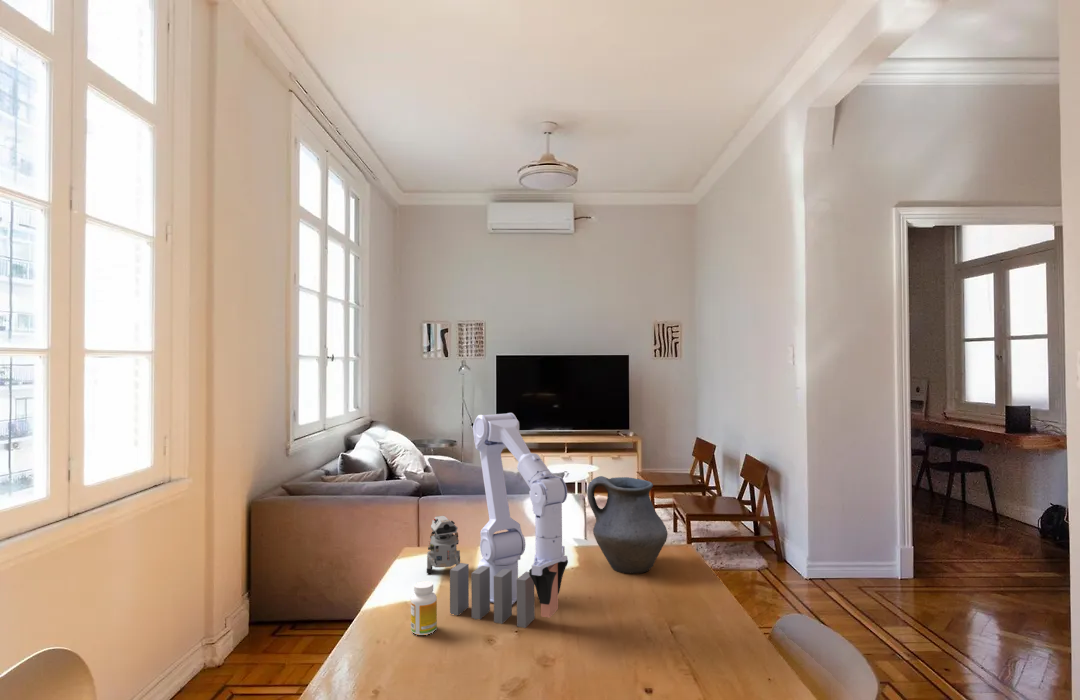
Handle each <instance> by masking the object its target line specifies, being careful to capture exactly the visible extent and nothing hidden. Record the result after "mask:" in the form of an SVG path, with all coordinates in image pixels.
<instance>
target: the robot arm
mask: <svg viewBox="0 0 1080 700" xmlns="http://www.w3.org/2000/svg"><path fill="white" fill-rule="evenodd" d="M472 432H473V439H474V445H475V450H477V451H479V457H480V464H481V470H482V478H483V485H484V491H485V498H486V505H487V512H488V518H489V520H488V521H487V523H485V525H484V526H483V527H482V528H481V530H480V531H479V532H480V543H479V551H480V554H481V556H482V559H480V561H479V563H478V566H477V569H478V568H479V567H481V566H487V567H490V603H493V604H494V575H496V574H497V573H499V572H500V571H501V570H503V569H510V570H512V605H514V604H515V603H517V579H518V578H519V561H520V560H521V559H522V557H521V556H522V555H523V554H524V553H525V549H526V539H525V535H524V534H523V532H522V528H521V523H519V522H518V521H517V520H515V519H514V518H512V517H511V513H510V506H509V499H508V493H507V487H506V486H507V485H506V479H505V473H504V468H503V467H504V466H503V460H502V452H503V450H504V449H505V448H507V450H508V451H509V452H510V453H511V454H512V456H513V457H514V458H515V460H516V461H517V467H516V468H517V472H519V474H520V475H521V477H522V478H523V480H524V482H525V483H526V485H527V486H528V488H529V489H530V490H529V491H528V494H529V499H530V501H531V504H532V511H533V514H534V516H535V519H534V521H535V531H534V532H535V554H534V558H533V563H532V565H531V568H530V569H528V570H529V571H528V572H529V575H530V577H531V578H532V580H533V582H534V588H535V590H536V595H537V599H538V602H539V604H540V605H541V604H547V605H549V604H550V600H551V592H552V585H553V581H554V578H555V576H556V573H557V572H551V571H549V570H548V566H550V565H553V564H556V563H558V595H559V594H560V591H561V587H562V586H561V585H562V582H563V581H562V580H563V577H564V574H565V573H564V572H565V570H566V568H567V566H568V563H569V559H568V556H567V555H565V552H566V551H565V550H566V549H565V546H564V545H563V511H562V510H563V509H562V507H563V505H562V504H563V503H564V502H566V501H567V498H568V487H567V484H566V482H565V481H564V478H563V477H561V476H559V475H556V474H555V473H552V472H551V471H550V469H549V468H548V466H547V465H546V464H545V462H544V461H543V460H542V458H541V457H540V456H539V454H537V453H535V452H534V453H533V452H531V450H530V449H529V447H528V445H527V444H526V442H525V440H524V437H522V435H521V433H520V421H519V420H518V419H517V417H516V415H515V414H514V413H513V412H507V413H496V414H495V413H493V414H478V415H477V416H476V418H475V420H474V422H473V425H472ZM505 530H506V531H505ZM499 531H500V532H499ZM501 531H502V532H501ZM496 532H497V533H496Z"/></svg>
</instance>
